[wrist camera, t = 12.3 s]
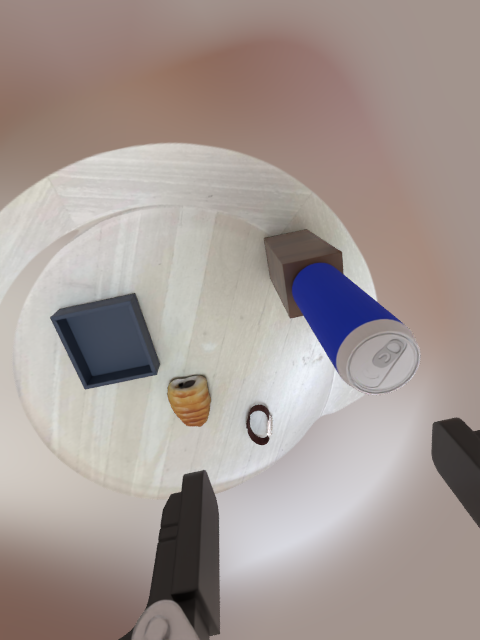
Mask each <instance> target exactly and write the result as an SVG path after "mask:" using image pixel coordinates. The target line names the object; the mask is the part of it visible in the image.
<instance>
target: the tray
mask: <svg viewBox="0 0 480 640" xmlns="http://www.w3.org/2000/svg"><path fill="white" fill-rule="evenodd" d="M50 318H51V320H52V322H53V324H54V327H55V329H56V331H57V333H58V335H59V337H60V339H61V341H62V343H63V345H64V347H65V349H66V351H67V353H68V356H69V358H70V360H71V362H72V364H73V366H74V368H75V370H76V372H77V374H78V376H79V378H80V380H81V382H82V384H83V386H84V389H89V388H94V387H99V386H104V385H109V384H114V383H119V382H124V381H129V380H134V379H138V378H143V377H148V376H153V375H157V373H158V369H159V366H160V363H159V360H158V357H157V354H156V352H155V349H154V346H153V343H152V340H151V337H150V334H149V332H148V329H147V326H146V323H145V320H144V317H143V315H142V312H141V309H140V306H139V303H138V300H137V298H136V295H135V293H134V294H130V295H125V296H120V297H115V298H111V299H106V300H101V301H96V302H92V303H87V304H82V305H77V306H72V307H68V308H63V309H59V310H58V311H57V312H56V313H55V314H54V315H53V316H51V317H50Z"/></svg>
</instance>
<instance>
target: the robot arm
mask: <svg viewBox="0 0 480 640" xmlns="http://www.w3.org/2000/svg"><path fill="white" fill-rule="evenodd" d="M432 459H433V462H434V465H435V466H436V469H437V471H438V472H439V474H440V475H441V476H442V478H443V479H444V480H445V482H446V483H447V485H448V486H449V487H450V489H451V490H452V491H453V493H454V494H455V495H456V497H457V498H458V499H459V501H460V502H461V503H462V505H463V506H464V508H465V509H466V510H467V512H468V513H469V514H470V516H471V517H472V518H473V520H474V521H475V522H476V523H477V525H478V527H479V528H480V430H478V431H472V430H471V429H470V428H469V427H468V426H467V425H466V424H465V422H463V421H462V420H461V419H460V418H452V419H447V420H442V421H438V422H434V423H433V430H432ZM158 540H159V543H158V545H157V551H156V558H155V565H154V571H153V577H152V583H151V590H150V596H149V600H148V604H147V607H146V609H145V611H144V612H143V614H142V615H141V616H140V618H139V619H138V621H137V623H136V625H135V626H134V628H133V629H132V630H131V631H130V632H128V633H127V634H126V635H125V636H123V637H122V638H120V639H119V640H209V636H212V635H217V634H220V601H219V600H220V595H219V591H220V589H219V512H218V505H217V500H216V497H215V494H214V491H213V488H212V486H211V483H210V480H209V477H208V475H207V472H206V471H205V470H203V471H198V472H193V473H188V474H184V476H183V482H182V491H181V492H179V493H174V494H171V495H170V497H169V499H168V501H167V503H166V505H165V507H164V509H163V513H162V520H161V529H160V533H159V539H158Z"/></svg>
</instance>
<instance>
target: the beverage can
mask: <svg viewBox="0 0 480 640" xmlns="http://www.w3.org/2000/svg"><path fill="white" fill-rule="evenodd" d="M292 295H293V298H294V300H295V302H296V304H297V305H298V307H299V309H300V310H301V312H302V314H303V315H304V317H305V319H306V320H307V322H308V324H309V325H310V327H311V329H312V330H313V332H314V334H315V335H316V337H317V339H318V340H319V342H320V344H321V345H322V347H323V349H324V350H325V352H326V354H327V355H328V357H329V359H330V360H331V362H332V364H333V365H334V367H335V369H336V370H337V372H338V374H339V375H340V377H341V378H342V379H343V380H344V381H345V382H346V383H347V384H349V385H350V386H352V387H353V388H355V389H356V390H358V391H360V392H362V393H365V394H370V395H381V394H387V393H390V392H393V391H395V390H397V389H399V388H401V387H402V386H404V385H405V384H406V383H407V382H408V381H409V380H410V379H411V378H412V377H413V376H414V374H415V373H416V371H417V369H418V367H419V363H420V350H419V346H418V344H417V341H416V339H415V337H414V335H413V333H412V331H411V330H410V329H409V328H408V327H407V326H406V325H404V324H403V323H402V322H401V321H400V320H398V319H397V318H396V317H395V316H394V315H392V314H391V313H390V312H389V311H387V310H386V309H385V308H384V307H382V306H381V305H380V304H379V303H378V302H376V301H375V300H374V299H373V298H372V297H370V296H369V295H368V294H367V293H365V292H364V291H363V290H362V289H361V288H359V287H358V286H357V285H356V284H354V283H353V282H352V281H351V280H350V279H348V278H347V277H346V276H345V275H343V274H342V273H341V272H340V271H339V270H337V269H336V268H335V267H334V266H332V265H330V264H327V263H314V264H311V265H309V266H307V267H305V268H304V269H302V270H301V271H300V272H299V273H298V275H297V276H296V278H295V280H294V282H293V286H292Z"/></svg>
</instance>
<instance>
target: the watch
mask: <svg viewBox="0 0 480 640" xmlns="http://www.w3.org/2000/svg"><path fill="white" fill-rule="evenodd" d="M254 411H262V412H264V413H265V414H266V415H267V417H268V429H267V434H268V436H267V437H265V438H260V437H258V436H256V435H255V434H254V433H253V432H252V430H251V428H250V415H251V413H253V412H254ZM246 424H247V425H246V428H248V434H249V436H250V438H251V439H252V441H254V442H255V443H256V444H259V445H265V444H267V443H268V441H269V437H270V436H271V434H272V416H270V414H269V411H268V409H267V408H266V407H265V406H263V405H255V406H253V407H252V408H251V410H250V412H249V415H248V419H247V423H246Z"/></svg>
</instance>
